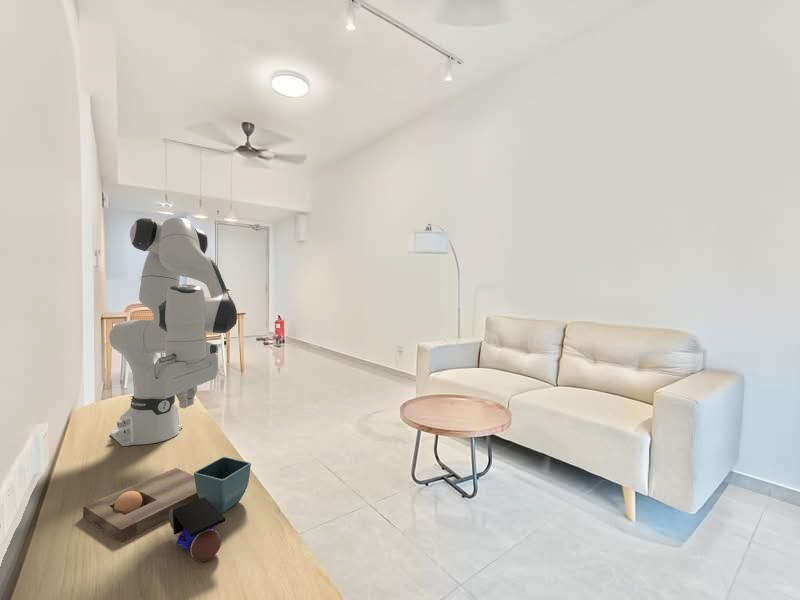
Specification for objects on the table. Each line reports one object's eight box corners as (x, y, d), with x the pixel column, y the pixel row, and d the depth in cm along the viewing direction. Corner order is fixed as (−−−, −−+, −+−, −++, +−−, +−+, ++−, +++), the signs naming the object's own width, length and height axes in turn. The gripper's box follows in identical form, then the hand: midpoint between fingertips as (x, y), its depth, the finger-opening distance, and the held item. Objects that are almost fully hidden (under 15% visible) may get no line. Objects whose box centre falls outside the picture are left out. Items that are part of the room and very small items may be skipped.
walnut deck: (83, 517, 81) (83, 505, 81) (175, 477, 98) (175, 467, 98) (121, 542, 73) (121, 529, 73) (214, 494, 91) (214, 484, 91)
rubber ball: (125, 485, 81) (142, 485, 86) (104, 503, 80) (123, 502, 85) (133, 504, 79) (151, 503, 84) (112, 523, 78) (131, 521, 83)
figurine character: (165, 542, 76) (191, 574, 65) (164, 504, 76) (189, 529, 66) (201, 527, 81) (230, 554, 70) (200, 491, 81) (228, 512, 71)
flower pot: (222, 521, 81) (222, 480, 80) (192, 511, 84) (192, 472, 83) (252, 499, 89) (252, 462, 88) (223, 492, 92) (223, 456, 92)
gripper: (167, 359, 81) (167, 422, 82) (222, 344, 101) (222, 395, 102) (140, 358, 82) (141, 420, 82) (200, 344, 102) (200, 394, 103)
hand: (186, 406), depth 92 cm, fingers closed
